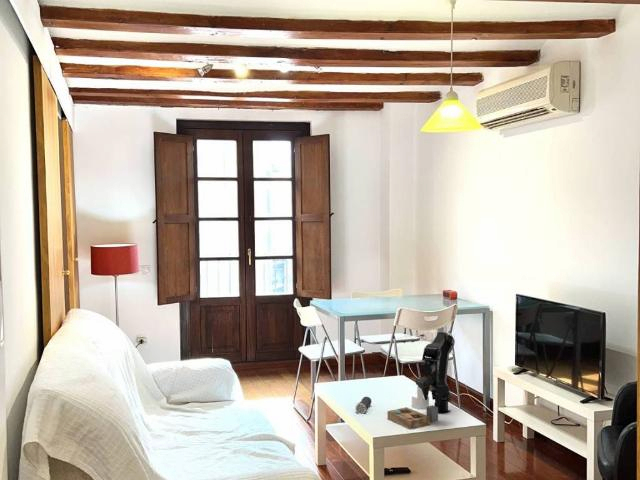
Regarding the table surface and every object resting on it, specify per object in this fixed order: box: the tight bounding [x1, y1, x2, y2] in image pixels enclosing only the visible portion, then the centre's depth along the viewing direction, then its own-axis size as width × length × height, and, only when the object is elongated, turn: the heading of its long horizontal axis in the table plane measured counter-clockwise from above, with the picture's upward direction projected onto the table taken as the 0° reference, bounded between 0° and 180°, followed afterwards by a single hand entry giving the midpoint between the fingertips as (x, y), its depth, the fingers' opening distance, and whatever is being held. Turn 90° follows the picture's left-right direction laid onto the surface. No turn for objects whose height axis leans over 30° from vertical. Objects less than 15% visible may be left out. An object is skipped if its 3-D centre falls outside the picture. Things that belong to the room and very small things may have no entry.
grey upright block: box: [425, 404, 439, 424], centre depth 321 cm, size 4×4×7 cm
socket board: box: [387, 407, 431, 430], centre depth 320 cm, size 12×18×5 cm, turn 31°
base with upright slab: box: [411, 385, 430, 410], centre depth 344 cm, size 9×9×12 cm
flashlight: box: [355, 396, 372, 415], centre depth 341 cm, size 15×5×5 cm, turn 163°
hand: (432, 402), depth 321 cm, fingers open, 9 cm apart
